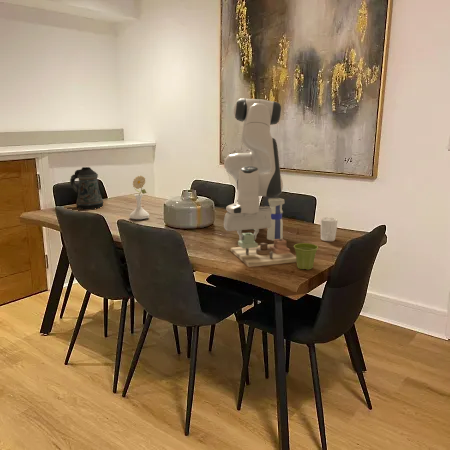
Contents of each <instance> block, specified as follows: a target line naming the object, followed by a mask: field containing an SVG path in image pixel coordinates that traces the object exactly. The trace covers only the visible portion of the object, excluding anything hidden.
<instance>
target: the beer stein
mask: <svg viewBox="0 0 450 450" xmlns="http://www.w3.org/2000/svg"><path fill="white" fill-rule="evenodd" d="M98 178H99V174H98V172H96V171H94V170H93V169H92V168H91V167H89V166H88V167H86V166H82V167H81V169H77V170H75V171H74V174H72V175H71V176H70V179H69V181H70V182H69V183H70V186H71V188H72V190H73V191H74V192H76V194H77V199H76V204H75V205H76V206H77V209H78V208H79V210H84V209H91V210H96V209H95V208H99V209H101V208H100V207H102V206H103V207H104V199H103V198H102V194H101V191H100V187H99V182H98ZM76 179H78V187H77V185H76V183H75V181H76ZM103 207H102V208H103Z"/></svg>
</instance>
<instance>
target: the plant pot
mask: <svg viewBox="0 0 450 450" xmlns="http://www.w3.org/2000/svg"><path fill="white" fill-rule="evenodd" d="M293 248H294V251H295V256H296V259H297V262H296V266H297V268H298V269H299V270H311V269H313V267H314V263H315V259H316V253H317V250H318V249H319V245H316V244H314V243H308V242H304V243H303V242H299V243H296V244H295V243H294V245H293Z"/></svg>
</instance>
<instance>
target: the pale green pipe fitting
mask: <svg viewBox="0 0 450 450" xmlns="http://www.w3.org/2000/svg"><path fill="white" fill-rule="evenodd" d="M253 234H254V233H252V232H242V233H241V235H243V236H244V240H241V241H240V240H237V245H238V247H242V248H243V249H244V248H255V247H258V245H259V243H258V242H257V241H255V239H254V235H253Z"/></svg>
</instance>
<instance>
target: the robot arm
mask: <svg viewBox="0 0 450 450" xmlns="http://www.w3.org/2000/svg"><path fill="white" fill-rule="evenodd" d="M233 115H234V118H235V119H236V120H237V121H239V122H242V123H243V126H242V132H241V139H240V140H241V141H240V142H241V143H242V145H243V147H245V148H246V149H248V150H250V151H249V152H236V153H235V152H234V153H230V154H227V156H226V157H225V159H224V162H223V166H224V169H225V171H226V172H227V174H229V175H231V176H232V178H233V180H234V182H235V184H236V190H237V192H236V193H237V199H236V202H234V203H231V204H229V205H227V206H226V208H225V209H226V211H227V212H226V213H225V214H224V218H223V228H224V230H226V232H234V231H235V232H236V233H237V235H238V237H239V238H238V241H241V240H244V236H243V235H242V233H243V231H246V230H247V231H248V230H254V232H253V233H252V234H253V235H254V240H256V239H257V235H258V234H259V232H260V230H262V229H268V228H270V227H271V226H272V220H271V213H272V209H271V208H270V205H269V206H268V205H260V197H268V198H278V197H279V195H281V194H282V192H283V187H284V185H283V178H282V175H281V168H280V166H281V165H280V157H279V150H278V143H277V140H276V139H275V138H274V137H273V136H272V134H271V126H273V125H277V124H278V123H279V122H280V120H281V118H282V115H283V110H282V105H281V104H280V102H277V101H275V100H274V101H271V100H267V99H261V98H257V99H256V98H243V97H242V98H239V99H237V100H236V102H235V104H234V107H233Z"/></svg>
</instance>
